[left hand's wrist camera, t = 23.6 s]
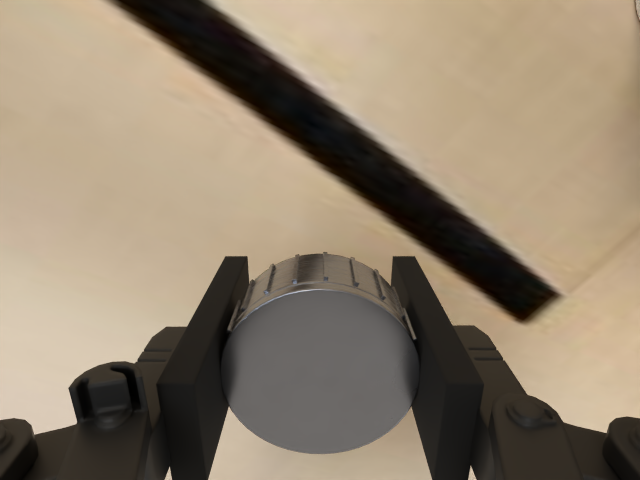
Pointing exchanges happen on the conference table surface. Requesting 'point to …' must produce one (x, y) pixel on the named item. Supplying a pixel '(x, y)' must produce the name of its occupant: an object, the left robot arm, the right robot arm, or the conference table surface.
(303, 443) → the lid
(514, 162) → the conference table surface
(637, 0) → the white cylindrical bottle
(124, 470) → the left robot arm
